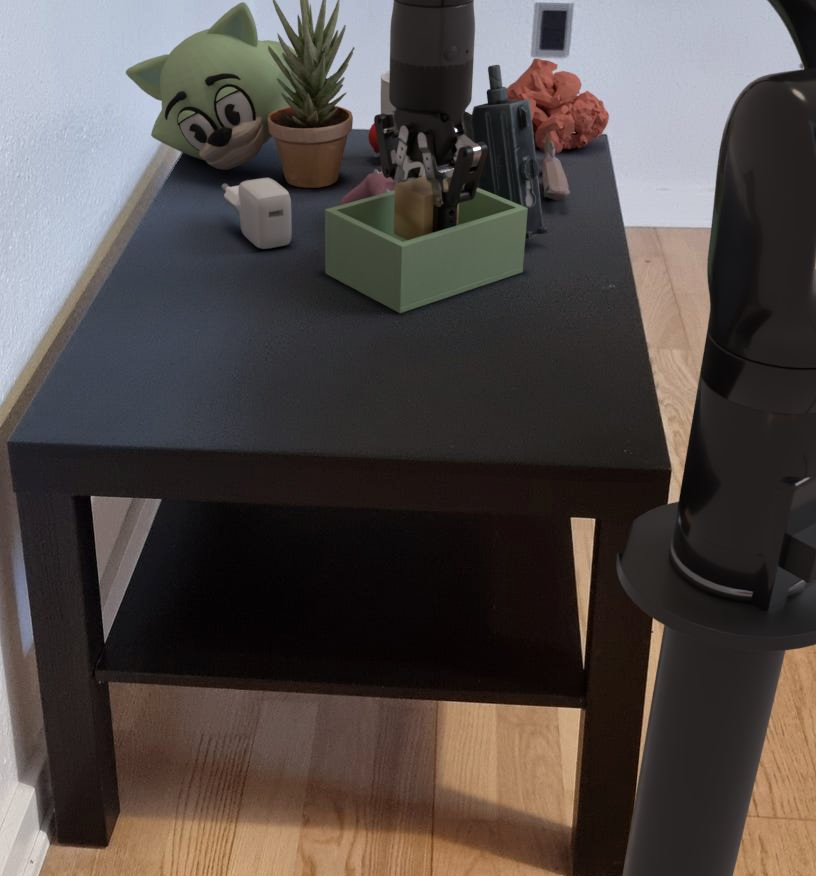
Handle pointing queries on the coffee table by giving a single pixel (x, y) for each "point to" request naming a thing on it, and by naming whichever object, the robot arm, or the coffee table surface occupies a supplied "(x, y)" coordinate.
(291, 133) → the potted plant
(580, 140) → the anatomical model
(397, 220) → the block
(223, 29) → the toy
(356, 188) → the pink irregular tapered piece
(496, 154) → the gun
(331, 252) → the bin
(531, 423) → the coffee table surface
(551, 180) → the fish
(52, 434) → the coffee table surface
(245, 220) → the power adapter
